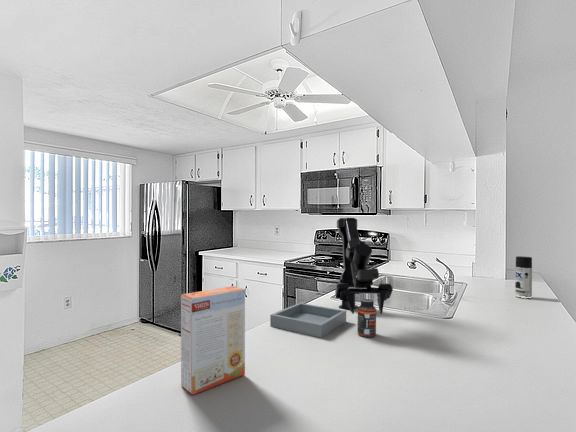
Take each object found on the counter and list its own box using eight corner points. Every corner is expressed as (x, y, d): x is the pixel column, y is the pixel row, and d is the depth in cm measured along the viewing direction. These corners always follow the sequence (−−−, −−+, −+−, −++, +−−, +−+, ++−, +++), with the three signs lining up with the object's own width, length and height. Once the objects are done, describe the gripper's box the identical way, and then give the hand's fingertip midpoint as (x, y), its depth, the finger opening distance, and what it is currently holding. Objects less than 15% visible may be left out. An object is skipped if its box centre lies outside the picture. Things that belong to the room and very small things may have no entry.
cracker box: (231, 367, 84) (232, 284, 84) (245, 375, 80) (246, 288, 80) (179, 385, 75) (180, 292, 75) (191, 396, 70) (192, 297, 70)
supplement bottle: (371, 339, 105) (371, 303, 105) (354, 335, 108) (354, 300, 108) (378, 334, 110) (379, 299, 110) (362, 330, 113) (362, 297, 113)
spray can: (511, 296, 167) (512, 256, 167) (524, 295, 167) (524, 256, 167) (522, 299, 160) (522, 257, 160) (535, 299, 161) (535, 257, 161)
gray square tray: (299, 312, 133) (299, 302, 133) (346, 321, 123) (346, 310, 123) (270, 326, 117) (270, 314, 117) (321, 337, 106) (321, 325, 106)
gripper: (336, 259, 114) (341, 299, 103) (391, 260, 114) (402, 300, 103) (333, 278, 122) (337, 317, 110) (384, 279, 122) (393, 318, 110)
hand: (367, 313), depth 108 cm, fingers open, 9 cm apart
